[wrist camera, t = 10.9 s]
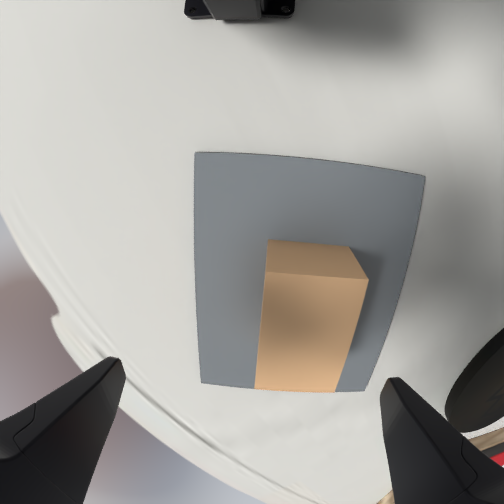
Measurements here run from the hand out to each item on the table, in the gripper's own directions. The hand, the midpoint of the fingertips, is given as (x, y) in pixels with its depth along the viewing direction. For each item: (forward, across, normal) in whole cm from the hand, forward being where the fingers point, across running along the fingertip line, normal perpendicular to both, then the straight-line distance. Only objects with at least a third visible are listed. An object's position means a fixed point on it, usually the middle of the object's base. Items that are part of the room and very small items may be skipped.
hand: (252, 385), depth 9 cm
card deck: (+10, -3, +3) cm, 11 cm away
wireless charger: (+11, -29, +14) cm, 34 cm away
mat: (+11, -3, +3) cm, 12 cm away
